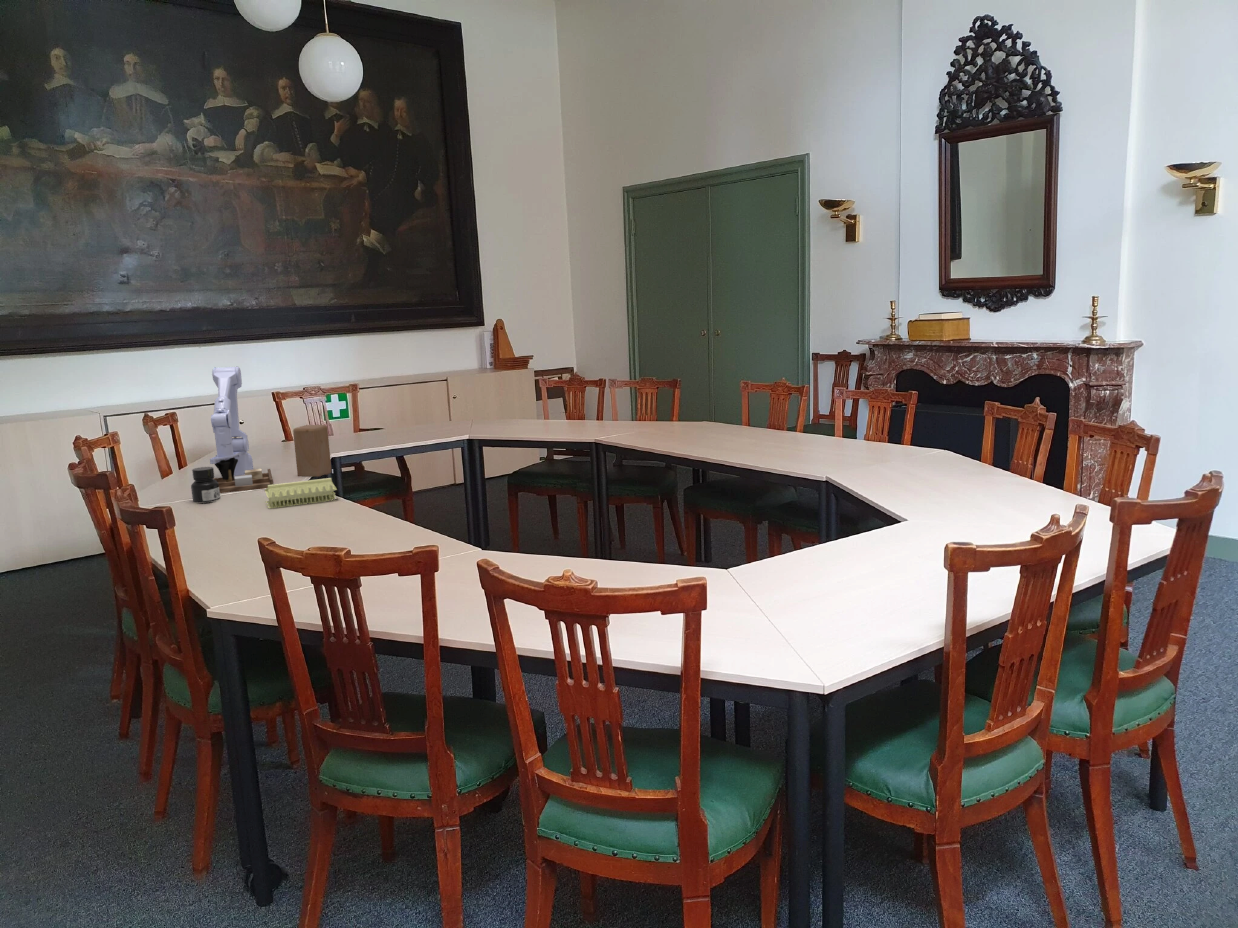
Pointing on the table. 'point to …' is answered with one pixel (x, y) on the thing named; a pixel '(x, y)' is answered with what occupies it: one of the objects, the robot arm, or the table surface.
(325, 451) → the wooden block
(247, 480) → the grey block
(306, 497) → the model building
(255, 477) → the birch block
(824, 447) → the table surface
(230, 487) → the lane shelf
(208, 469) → the ink bottle
